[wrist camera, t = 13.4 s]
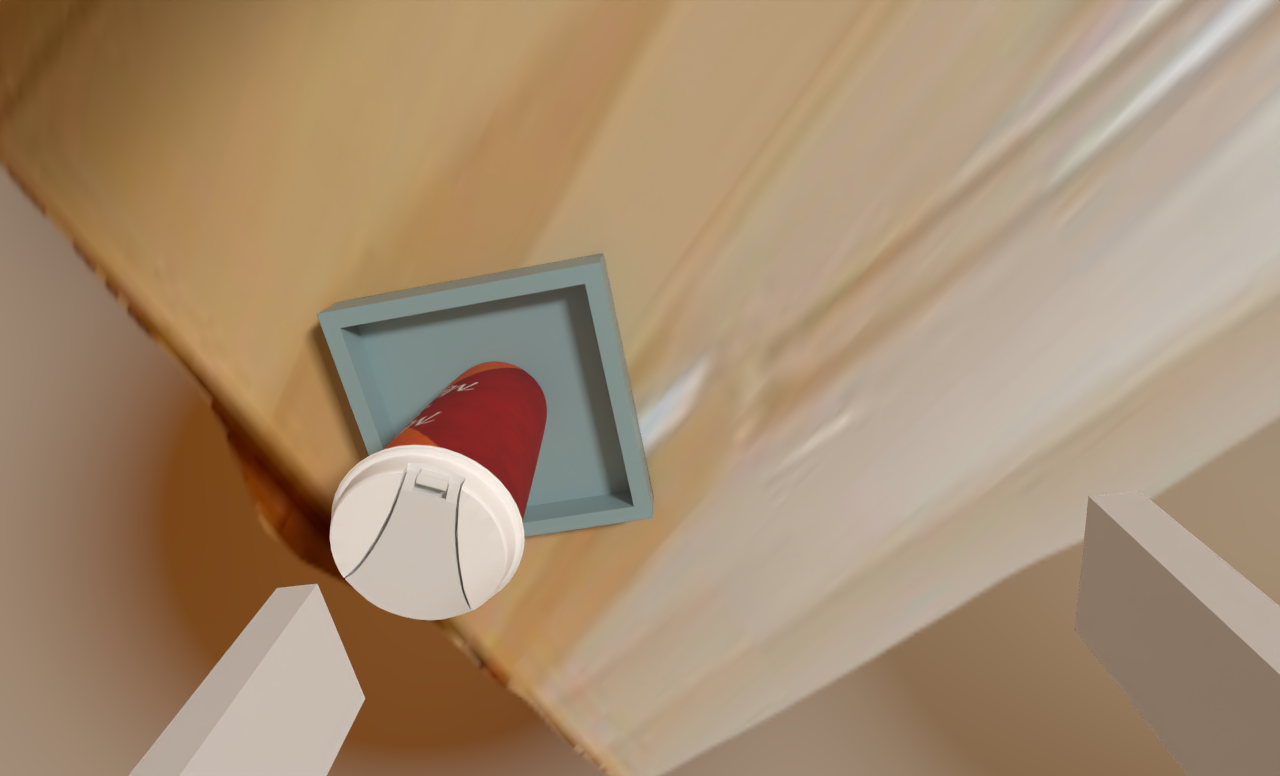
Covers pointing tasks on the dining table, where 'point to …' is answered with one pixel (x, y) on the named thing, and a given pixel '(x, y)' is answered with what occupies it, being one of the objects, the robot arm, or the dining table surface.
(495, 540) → the coffee cup
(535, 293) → the tray
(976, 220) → the dining table surface
